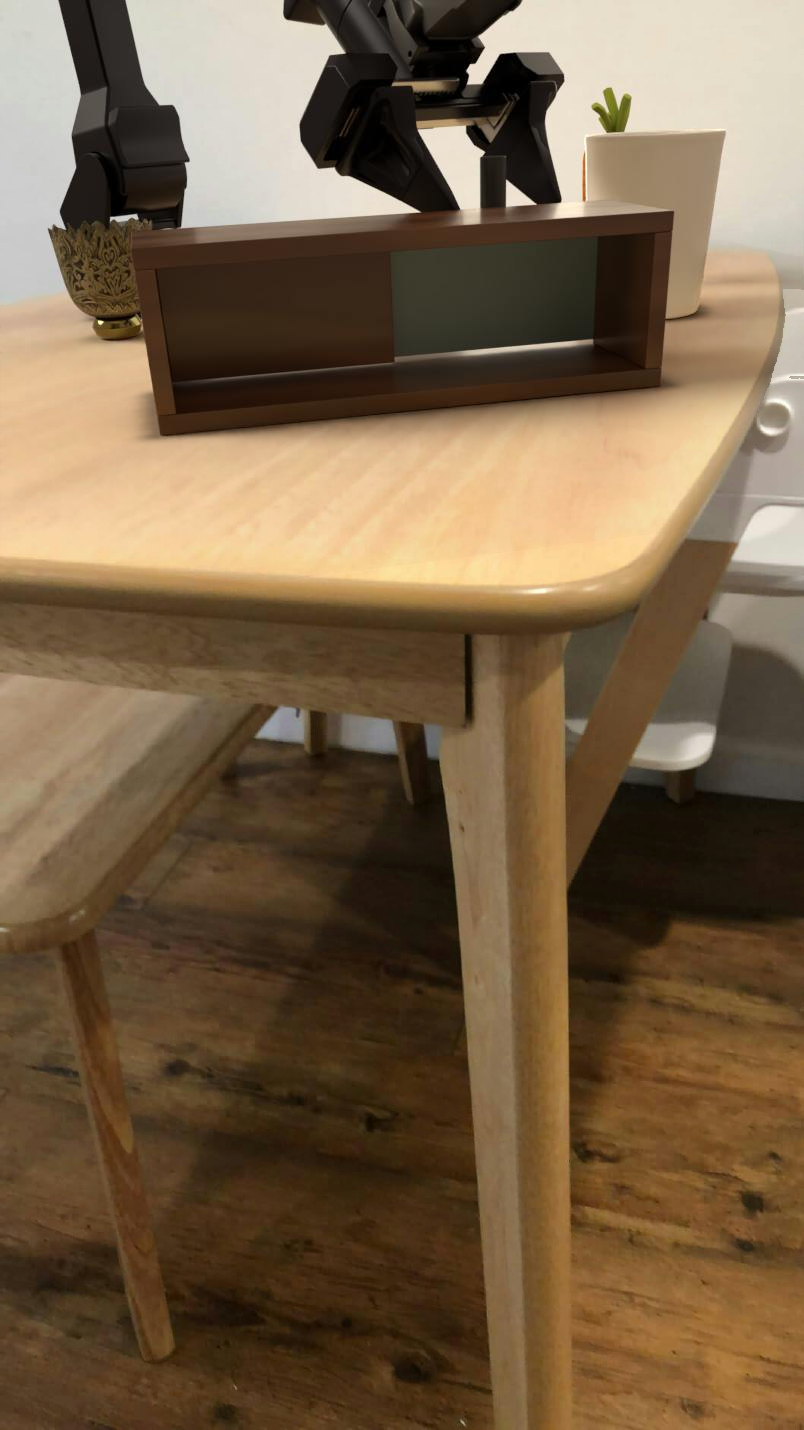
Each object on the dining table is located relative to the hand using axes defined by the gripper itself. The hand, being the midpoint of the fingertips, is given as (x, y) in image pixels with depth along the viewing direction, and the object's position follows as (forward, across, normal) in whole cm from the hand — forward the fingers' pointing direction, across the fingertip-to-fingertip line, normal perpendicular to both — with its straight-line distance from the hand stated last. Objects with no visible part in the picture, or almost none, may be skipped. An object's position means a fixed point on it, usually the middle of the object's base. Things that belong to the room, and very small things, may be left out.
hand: (508, 214), depth 64 cm
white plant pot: (+4, +18, +8) cm, 20 cm away
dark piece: (+5, -2, +5) cm, 7 cm away
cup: (-15, -12, +27) cm, 33 cm away
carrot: (-2, +26, +14) cm, 30 cm away
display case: (+8, -12, +4) cm, 14 cm away
